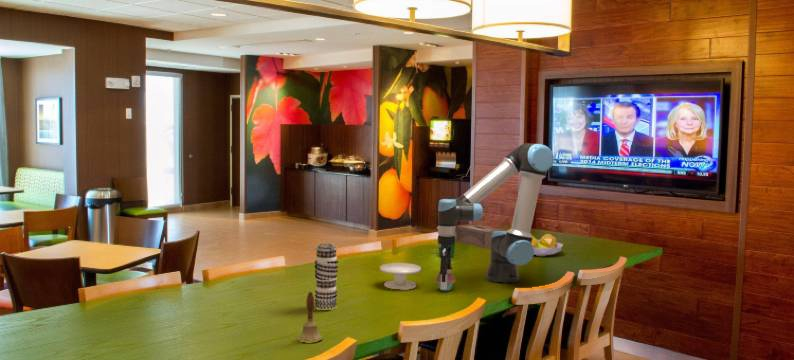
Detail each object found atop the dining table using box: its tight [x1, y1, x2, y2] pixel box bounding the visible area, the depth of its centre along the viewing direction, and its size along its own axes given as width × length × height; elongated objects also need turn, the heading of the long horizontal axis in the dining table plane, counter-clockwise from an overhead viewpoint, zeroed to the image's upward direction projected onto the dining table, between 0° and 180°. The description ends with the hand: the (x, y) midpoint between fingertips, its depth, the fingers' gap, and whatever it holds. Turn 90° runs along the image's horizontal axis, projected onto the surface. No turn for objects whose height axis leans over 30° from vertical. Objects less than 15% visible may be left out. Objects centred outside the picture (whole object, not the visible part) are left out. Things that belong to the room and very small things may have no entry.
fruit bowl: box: [531, 233, 563, 257], centre depth 373 cm, size 28×27×11 cm
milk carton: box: [438, 234, 456, 259], centre depth 358 cm, size 9×9×20 cm
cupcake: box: [435, 273, 456, 292], centre depth 288 cm, size 9×8×12 cm
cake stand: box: [379, 262, 422, 291], centre depth 293 cm, size 18×18×8 cm
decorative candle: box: [314, 243, 339, 309], centre depth 256 cm, size 9×9×25 cm
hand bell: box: [298, 291, 323, 341], centre depth 220 cm, size 8×8×16 cm
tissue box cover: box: [455, 223, 505, 249], centre depth 399 cm, size 26×14×10 cm, turn 36°
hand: (445, 286), depth 289 cm, fingers closed on cupcake, 8 cm apart
